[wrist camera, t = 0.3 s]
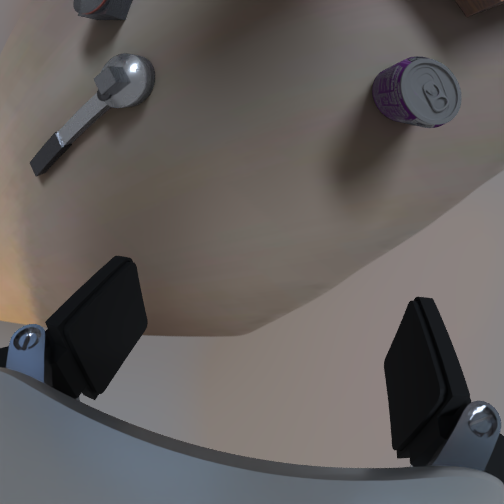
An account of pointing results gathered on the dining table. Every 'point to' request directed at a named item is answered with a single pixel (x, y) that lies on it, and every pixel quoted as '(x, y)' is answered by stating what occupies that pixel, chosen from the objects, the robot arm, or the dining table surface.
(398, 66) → the beverage can
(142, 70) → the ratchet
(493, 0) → the tissue box cover
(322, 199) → the dining table surface
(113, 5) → the grey domed block
